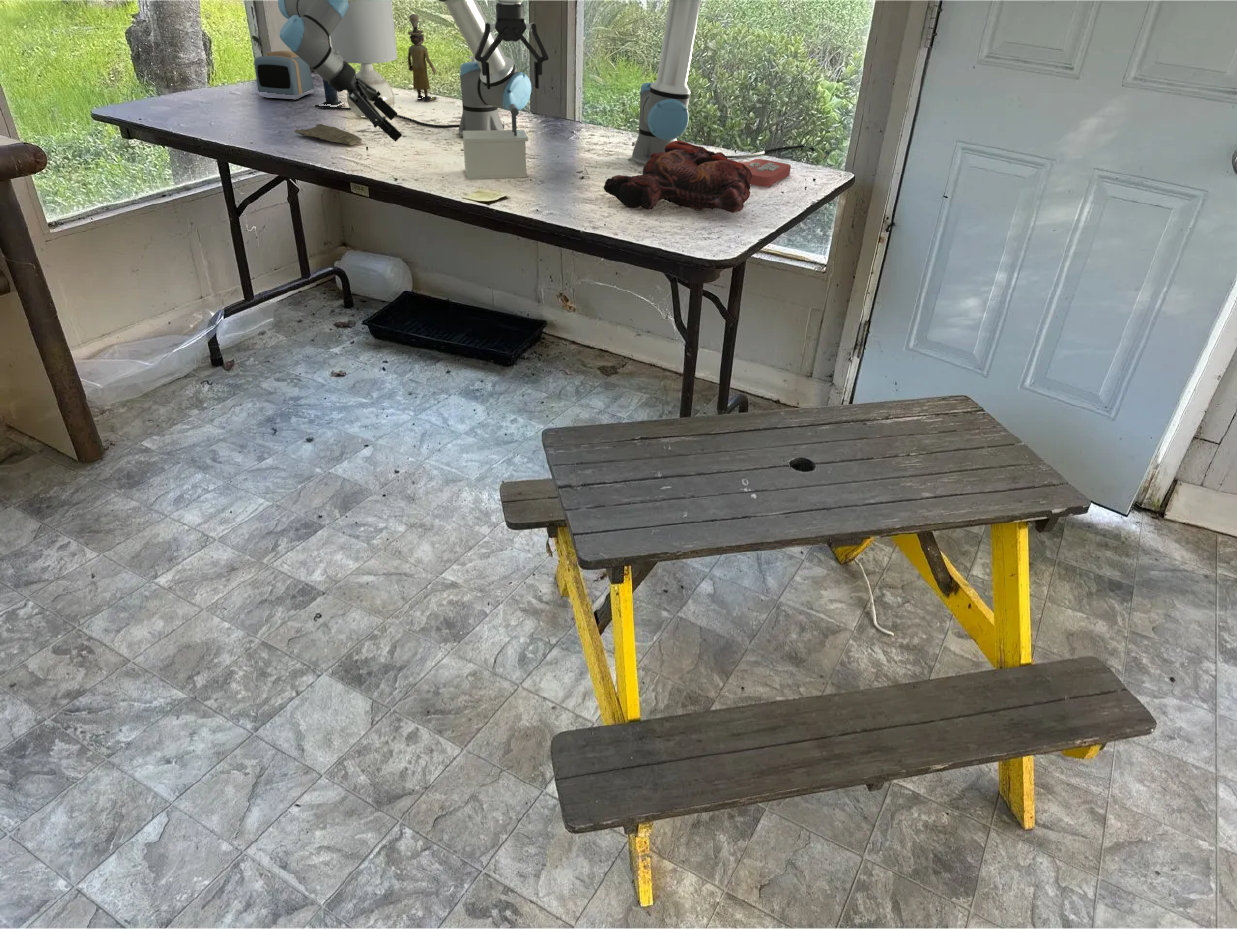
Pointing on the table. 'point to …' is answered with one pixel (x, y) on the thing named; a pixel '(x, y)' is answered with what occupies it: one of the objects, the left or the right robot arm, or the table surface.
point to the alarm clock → (282, 73)
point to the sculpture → (685, 180)
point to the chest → (495, 159)
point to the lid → (498, 132)
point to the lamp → (367, 44)
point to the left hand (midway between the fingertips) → (396, 127)
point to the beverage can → (330, 95)
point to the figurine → (419, 60)
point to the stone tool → (330, 134)
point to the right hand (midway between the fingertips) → (512, 88)
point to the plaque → (767, 172)
